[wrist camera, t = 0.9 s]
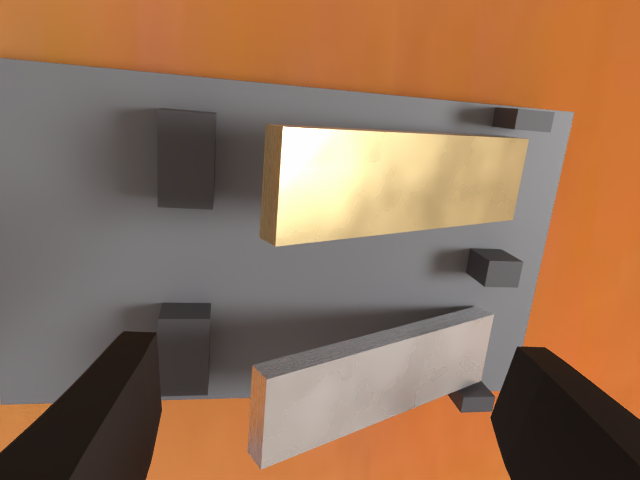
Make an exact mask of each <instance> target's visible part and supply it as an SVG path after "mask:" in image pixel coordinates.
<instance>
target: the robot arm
mask: <svg viewBox="0 0 640 480" xmlns="http://www.w3.org/2000/svg"><path fill="white" fill-rule="evenodd" d="M161 412H162V406H161V390H160V373H159V357H158V341H157V332H134V331H123V332H122V333H121V334H120V335H118V336H117V337H116V339H115V340H114V341H113V342H112V343H111V344H110V345H109V346H108V347H107V348H106V349H105V350H104V352H103V353H102V354H101V355H100V356H99V357H98V358H97V359H96V360H95V361H94V362H93V363H92V364H91V365H90V367H89V368H88V369H87V370H86V371H85V372H84V373H83V374H82V375H81V376H80V377H79V378H78V379H77V380H76V381H75V382H74V383H73V384H72V385H71V386H70V387H69V388H68V389H67V390H66V391H65V392H64V393H63V394H62V395H61V396H60V397H59V398H58V399H57V400H56V401H55V402H54V403H53V404H52V405H51V406H50V407H49V408H48V409H47V410H46V411H45V412H44V413H43V414H42V415H41V416H40V417H39V418H38V419H37V420H36V421H35V422H34V423H32V424H31V425H30V426H29V427H28V428H27V429H26V430H25V431H24V432H23V433H21V434H20V435H19V436H18V437H17V438H16V439H15V440H14V441H13V442H11V443H10V444H9V445H8V446H7V447H6V448H5V449H4V450H3V451H2V452H0V480H146V476H147V473H148V470H149V467H150V464H151V460H152V455H153V451H154V446H155V441H156V437H157V432H158V427H159V422H160V417H161ZM491 421H492V425H493V428H494V431H495V435H496V438H497V442H498V445H499V448H500V451H501V454H502V458H503V461H504V464H505V467H506V469H507V471H508V474H509V476H510V478H511V480H640V419H638V418H637V417H636V416H634V415H633V414H632V413H631V412H629V411H628V410H627V409H625V408H624V407H623V406H622V405H620V404H619V403H618V402H616V401H615V400H614V399H613V398H611V397H610V396H609V395H607V394H606V393H605V392H604V391H602V390H601V389H600V388H599V387H597V386H596V385H595V384H593V383H592V382H591V381H590V380H588V379H587V378H586V377H584V376H583V375H582V374H581V373H579V372H578V371H577V370H575V369H574V368H573V367H571V366H570V365H569V364H568V363H566V362H565V361H564V360H562V359H561V358H559V357H558V356H557V355H555V354H554V353H552V352H551V351H550V350H548V349H547V348H545V347H519V346H517V348H516V351H515V353H514V356H513V359H512V361H511V364H510V367H509V369H508V372H507V375H506V377H505V380H504V383H503V386H502V388H501V391H500V394H499V396H498V399H497V402H496V404H495V407H494V410H493V412H492V415H491Z"/></svg>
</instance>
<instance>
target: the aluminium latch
mask: <svg viewBox="0 0 640 480" xmlns="http://www.w3.org/2000/svg"><path fill="white" fill-rule="evenodd" d="M493 318H494V314H492V313H490V312H488V311H486V310H484V309H481V308H479V307H477V306H475V307H472V308H468V309H464V310H460V311H456V312H453V313H449V314H445V315H441V316H437V317H433V318H430V319H426V320H422V321H418V322H414V323H411V324H407V325H403V326H399V327H395V328H392V329H388V330H384V331H380V332H376V333H373V334H369V335H365V336H361V337H357V338H353V339H350V340H346V341H342V342H338V343H334V344H331V345H327V346H323V347H319V348H315V349H312V350H308V351H304V352H300V353H296V354H293V355H289V356H285V357H281V358H277V359H273V360H270V361H266V362H262V363H258V364H254V365H252V380H251V398H250V416H249V434H248V453H249V455H250V456H251V457H252V458H253V460H254V461H255V462H256V464H257V465H258V466H259V468H260V469H264V468H266V467H269V466H271V465H274V464H276V463H278V462H281V461H283V460H286V459H288V458H291V457H293V456H296V455H298V454H301V453H303V452H306V451H308V450H311V449H313V448H316V447H318V446H321V445H323V444H326V443H328V442H331V441H333V440H336V439H338V438H341V437H343V436H346V435H348V434H350V433H353V432H355V431H358V430H360V429H363V428H365V427H368V426H370V425H373V424H375V423H378V422H380V421H383V420H385V419H388V418H390V417H393V416H395V415H398V414H400V413H403V412H405V411H408V410H410V409H413V408H415V407H418V406H420V405H423V404H425V403H427V402H430V401H432V400H435V399H437V398H440V397H442V396H445V395H447V394H450V393H452V392H455V391H457V390H460V389H462V388H465V387H467V386H470V385H472V384H475V383H477V382H480V381H481V378H482V373H483V368H484V363H485V358H486V353H487V348H488V343H489V338H490V333H491V328H492V323H493Z"/></svg>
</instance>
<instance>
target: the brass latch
mask: <svg viewBox="0 0 640 480" xmlns="http://www.w3.org/2000/svg"><path fill="white" fill-rule="evenodd" d="M528 142H529V139H526V138H518V137H510V136H493V135H474V134H454V133H435V132H416V131H396V130H377V129H357V128H338V127H319V126H299V125H280V124H266V126H265V144H264V163H263V181H262V199H261V217H260V235H259V238H261V239H263V240H264V241H266V242H268V243H270V244H272V245H273V246H275V247H277V246H285V245H294V244H303V243H312V242H321V241H330V240H339V239H348V238H357V237H366V236H375V235H384V234H392V233H401V232H410V231H419V230H428V229H437V228H446V227H455V226H464V225H473V224H482V223H490V222H499V221H508V220H513V217H514V212H515V207H516V202H517V197H518V192H519V187H520V182H521V177H522V172H523V167H524V162H525V157H526V152H527V147H528Z"/></svg>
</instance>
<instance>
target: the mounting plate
mask: <svg viewBox="0 0 640 480" xmlns="http://www.w3.org/2000/svg"><path fill="white" fill-rule="evenodd" d="M573 116H574V112H565V111H555V110H544V109H534V108H523V107H513V106H502V105H491V104H481V103H470V102H460V101H449V100H439V99H428V98H417V97H407V96H396V95H386V94H375V93H365V92H354V91H343V90H333V89H322V88H312V87H301V86H291V85H280V84H269V83H259V82H248V81H238V80H227V79H216V78H206V77H195V76H185V75H174V74H164V73H153V72H142V71H132V70H121V69H111V68H100V67H90V66H79V65H68V64H58V63H47V62H37V61H26V60H16V59H5V58H0V402H1V405H6V404H42V403H54V402H55V401H56V400H57V399H58V398H59V397H60V396H61V395H62V394H63V393H64V392H65V391H66V390H67V389H68V388H69V387H70V386H71V385H72V384H73V383H74V382H75V381H76V380H77V379H78V378H79V377H80V376H81V375H82V374H83V373H84V372H85V371H86V370H87V369H88V368H89V367H90V365H91V364H92V363H93V362H94V361H95V360H96V359H97V358H98V357H99V356H100V355H101V354H102V353H103V352H104V350H105V349H106V348H107V347H108V346H109V345H110V344H111V343H112V342H113V341H114V340H115V339H116V337H117V336H118V335H120V334H121V333H122V332H123V331H134V332H157V341H158V357H159V373H160V390H161V400H186V399H222V398H251V380H252V365H254V364H258V363H262V362H266V361H270V360H273V359H277V358H281V357H285V356H289V355H293V354H296V353H300V352H304V351H308V350H312V349H315V348H319V347H323V346H327V345H331V344H334V343H338V342H342V341H346V340H350V339H353V338H357V337H361V336H365V335H369V334H373V333H376V332H380V331H384V330H388V329H392V328H395V327H399V326H403V325H407V324H411V323H414V322H418V321H422V320H426V319H430V318H433V317H437V316H441V315H445V314H449V313H453V312H456V311H460V310H464V309H468V308H472V307H475V306H477V307H479V308H481V309H484V310H486V311H488V312H490V313H492V314H494V318H493V323H492V328H491V333H490V338H489V343H488V348H487V353H486V358H485V363H484V368H483V373H482V378H481V381H480V382H477V383H475V384H472V385H470V386H467V387H465V388H462V389H460V390H457V391H455V392H452V393H450V394H448V396H449V397H450V398H451V400H452V401H453V402H454V404H455V405H456V407H457V408H458V409H459V411H460V412H461V413H462V412H489V411H492V409H493V405H494V400H495V396H494V395H493V394H492V393H491V391H501V388H502V386H503V383H504V380H505V377H506V375H507V372H508V369H509V367H510V364H511V361H512V359H513V356H514V353H515V351H516V348H517V346H519V347H523V343H524V338H525V334H526V329H527V325H528V320H529V316H530V311H531V306H532V302H533V297H534V293H535V288H536V284H537V279H538V275H539V270H540V266H541V261H542V256H543V252H544V247H545V243H546V238H547V234H548V229H549V225H550V220H551V216H552V211H553V206H554V202H555V197H556V193H557V188H558V184H559V179H560V175H561V170H562V166H563V161H564V156H565V152H566V147H567V143H568V138H569V134H570V129H571V125H572V120H573ZM266 124H280V125H299V126H319V127H338V128H357V129H377V130H396V131H416V132H435V133H454V134H474V135H493V136H510V137H518V138H526V139H529V142H528V147H527V152H526V157H525V162H524V167H523V172H522V177H521V182H520V187H519V192H518V197H517V202H516V207H515V212H514V217H513V220H508V221H499V222H490V223H482V224H473V225H464V226H455V227H446V228H437V229H428V230H419V231H410V232H401V233H392V234H384V235H375V236H366V237H357V238H348V239H339V240H330V241H321V242H312V243H303V244H294V245H285V246H277V247H275V246H273V245H272V244H270V243H268V242H266V241H264V240H263V239H261V238H259V235H260V217H261V199H262V181H263V163H264V144H265V126H266Z"/></svg>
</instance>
